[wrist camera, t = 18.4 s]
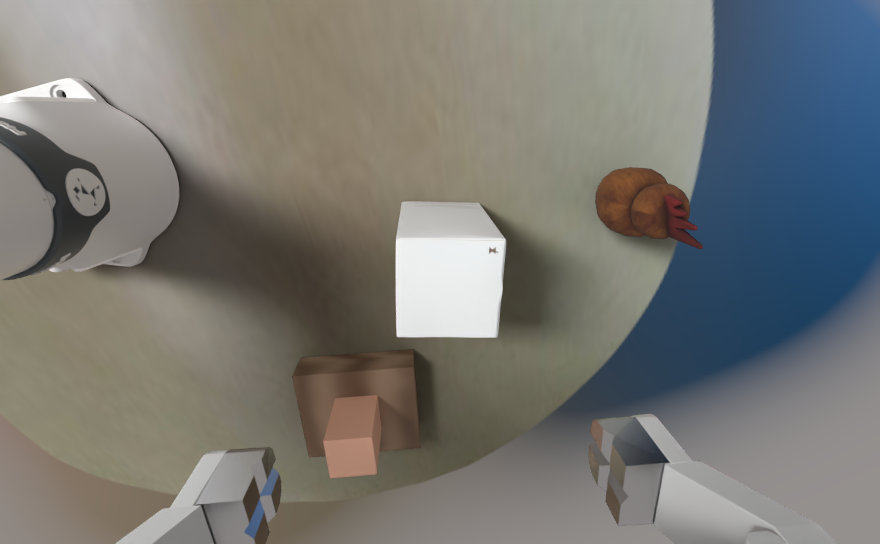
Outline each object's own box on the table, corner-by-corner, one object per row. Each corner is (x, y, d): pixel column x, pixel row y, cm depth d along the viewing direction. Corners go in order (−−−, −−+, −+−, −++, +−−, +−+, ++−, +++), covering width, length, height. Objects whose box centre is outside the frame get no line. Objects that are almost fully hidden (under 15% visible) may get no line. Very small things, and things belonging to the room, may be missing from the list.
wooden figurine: (631, 224, 48) (721, 267, 34) (583, 222, 47) (654, 264, 33) (644, 165, 46) (748, 185, 32) (594, 162, 45) (676, 180, 31)
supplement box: (399, 199, 45) (394, 234, 31) (480, 201, 46) (510, 237, 32) (399, 276, 48) (394, 339, 34) (475, 277, 49) (499, 340, 35)
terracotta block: (340, 432, 51) (330, 478, 44) (335, 398, 49) (323, 441, 42) (381, 428, 51) (376, 474, 44) (377, 394, 49) (371, 437, 43)
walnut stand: (316, 434, 55) (309, 457, 52) (301, 357, 51) (292, 376, 48) (419, 426, 56) (420, 447, 52) (413, 349, 52) (413, 367, 48)
